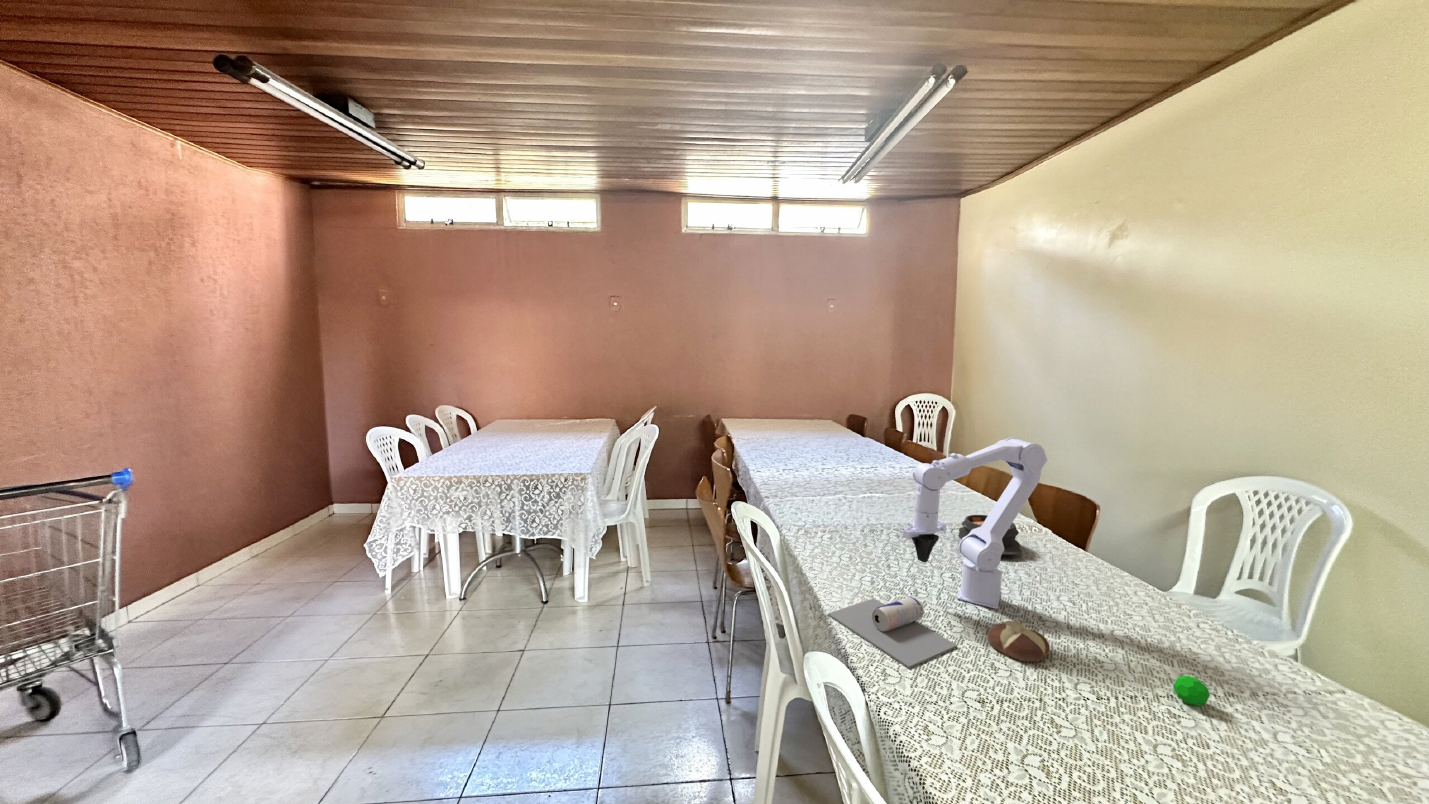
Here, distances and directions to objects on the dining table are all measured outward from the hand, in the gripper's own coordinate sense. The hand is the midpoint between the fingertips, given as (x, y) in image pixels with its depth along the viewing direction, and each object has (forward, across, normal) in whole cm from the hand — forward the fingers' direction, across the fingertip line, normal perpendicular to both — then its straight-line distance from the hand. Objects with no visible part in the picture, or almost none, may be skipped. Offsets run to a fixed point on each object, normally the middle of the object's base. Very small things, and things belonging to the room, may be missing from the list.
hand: (922, 560), depth 135 cm
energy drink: (+7, +10, +7) cm, 14 cm away
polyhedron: (+10, -12, +52) cm, 54 cm away
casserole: (+10, -53, -14) cm, 55 cm away
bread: (+11, 0, +26) cm, 28 cm away
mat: (+10, +20, +7) cm, 23 cm away
